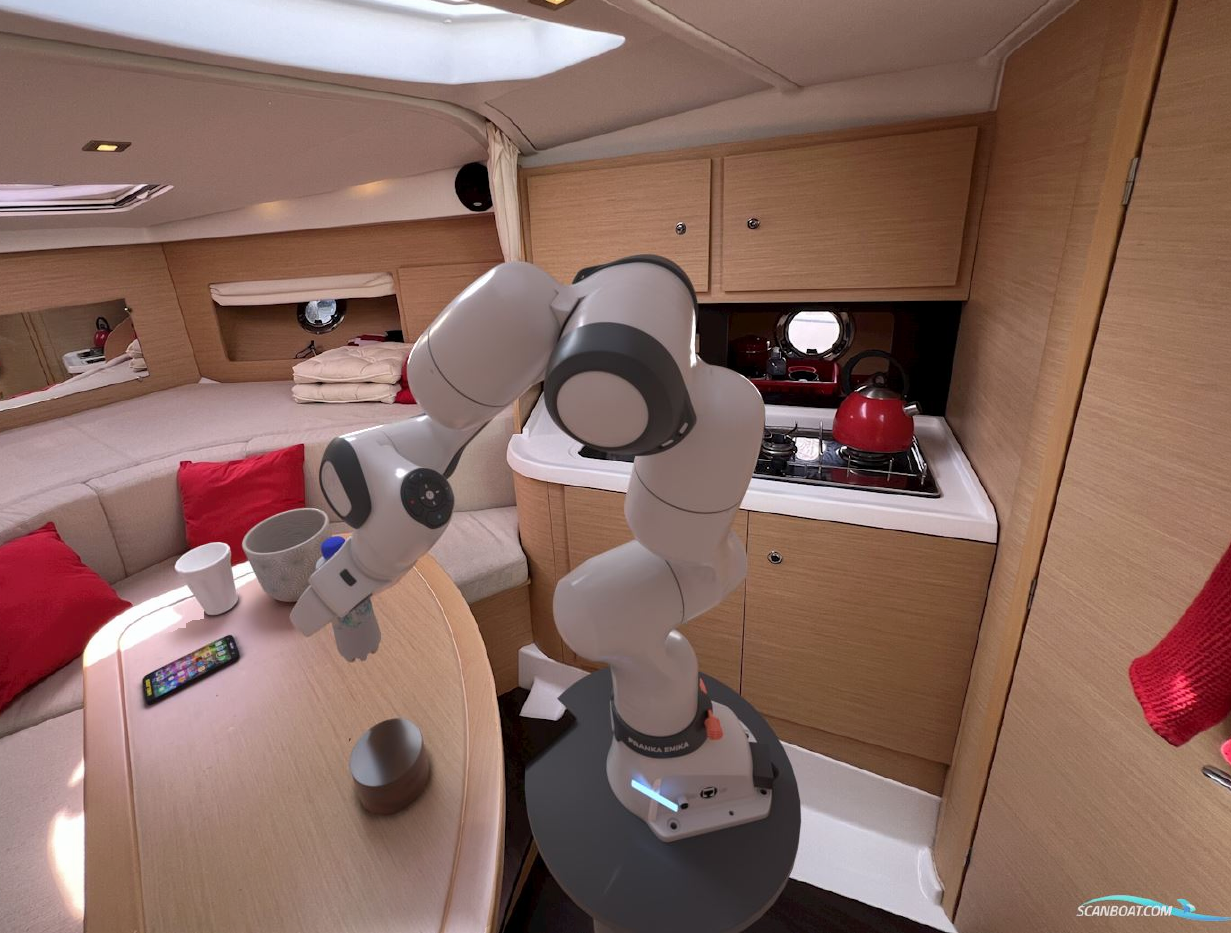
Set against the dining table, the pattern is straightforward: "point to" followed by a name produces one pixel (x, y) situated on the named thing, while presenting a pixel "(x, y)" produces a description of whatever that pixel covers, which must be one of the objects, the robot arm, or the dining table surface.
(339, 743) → the dining table surface
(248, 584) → the dining table surface
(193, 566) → the cup
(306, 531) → the planter
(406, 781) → the pedestal
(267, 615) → the dining table surface
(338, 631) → the bottle
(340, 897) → the dining table surface
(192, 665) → the smartphone
